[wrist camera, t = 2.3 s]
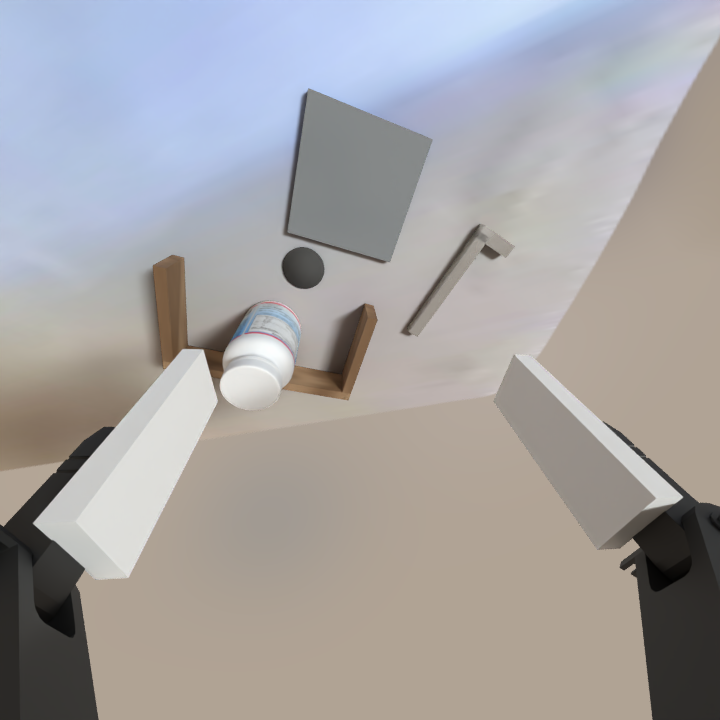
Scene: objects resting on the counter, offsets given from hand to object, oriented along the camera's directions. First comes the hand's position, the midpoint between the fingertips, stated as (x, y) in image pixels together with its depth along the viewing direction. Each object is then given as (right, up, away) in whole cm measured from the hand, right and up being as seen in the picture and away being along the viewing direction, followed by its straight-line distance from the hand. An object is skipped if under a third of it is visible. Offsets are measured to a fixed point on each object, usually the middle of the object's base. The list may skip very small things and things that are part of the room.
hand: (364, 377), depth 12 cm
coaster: (-1, +16, +12) cm, 20 cm away
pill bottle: (-10, +5, +19) cm, 22 cm away
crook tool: (+10, +9, +18) cm, 23 cm away
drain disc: (-6, +10, +16) cm, 19 cm away
